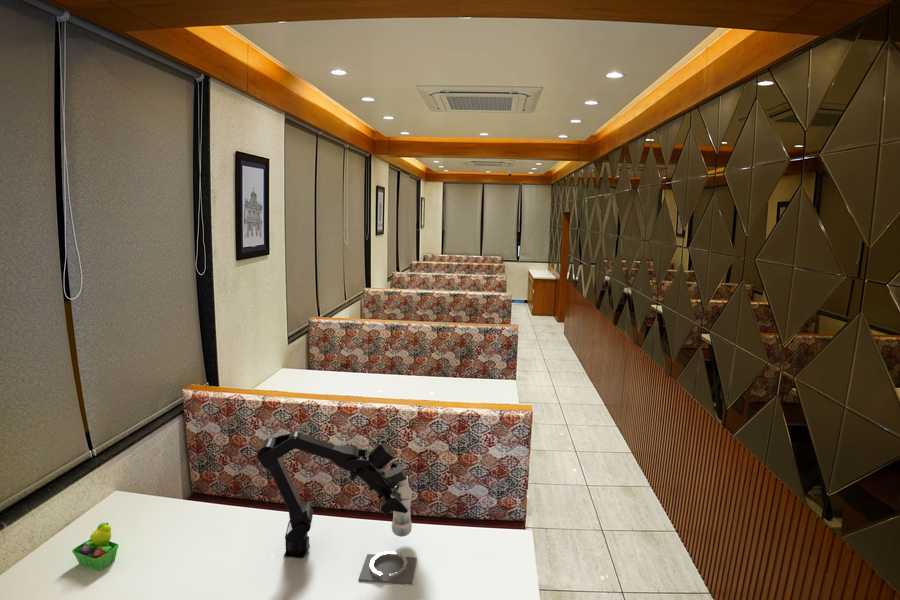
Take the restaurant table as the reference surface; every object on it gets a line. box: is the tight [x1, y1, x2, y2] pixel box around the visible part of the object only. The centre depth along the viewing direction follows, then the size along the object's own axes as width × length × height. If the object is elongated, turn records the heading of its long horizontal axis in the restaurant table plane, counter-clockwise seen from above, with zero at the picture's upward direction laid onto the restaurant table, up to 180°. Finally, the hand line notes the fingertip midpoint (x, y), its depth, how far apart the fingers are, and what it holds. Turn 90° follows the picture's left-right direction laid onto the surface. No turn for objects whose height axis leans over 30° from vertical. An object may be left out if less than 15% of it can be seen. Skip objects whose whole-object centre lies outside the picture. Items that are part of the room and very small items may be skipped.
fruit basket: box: [71, 522, 120, 571], centre depth 164 cm, size 11×9×11 cm
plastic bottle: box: [391, 474, 413, 537], centre depth 174 cm, size 6×7×20 cm
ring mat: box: [358, 553, 418, 586], centre depth 164 cm, size 16×12×1 cm
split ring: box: [370, 550, 407, 581], centre depth 163 cm, size 11×11×2 cm
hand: (406, 506), depth 174 cm, fingers closed on plastic bottle, 6 cm apart
